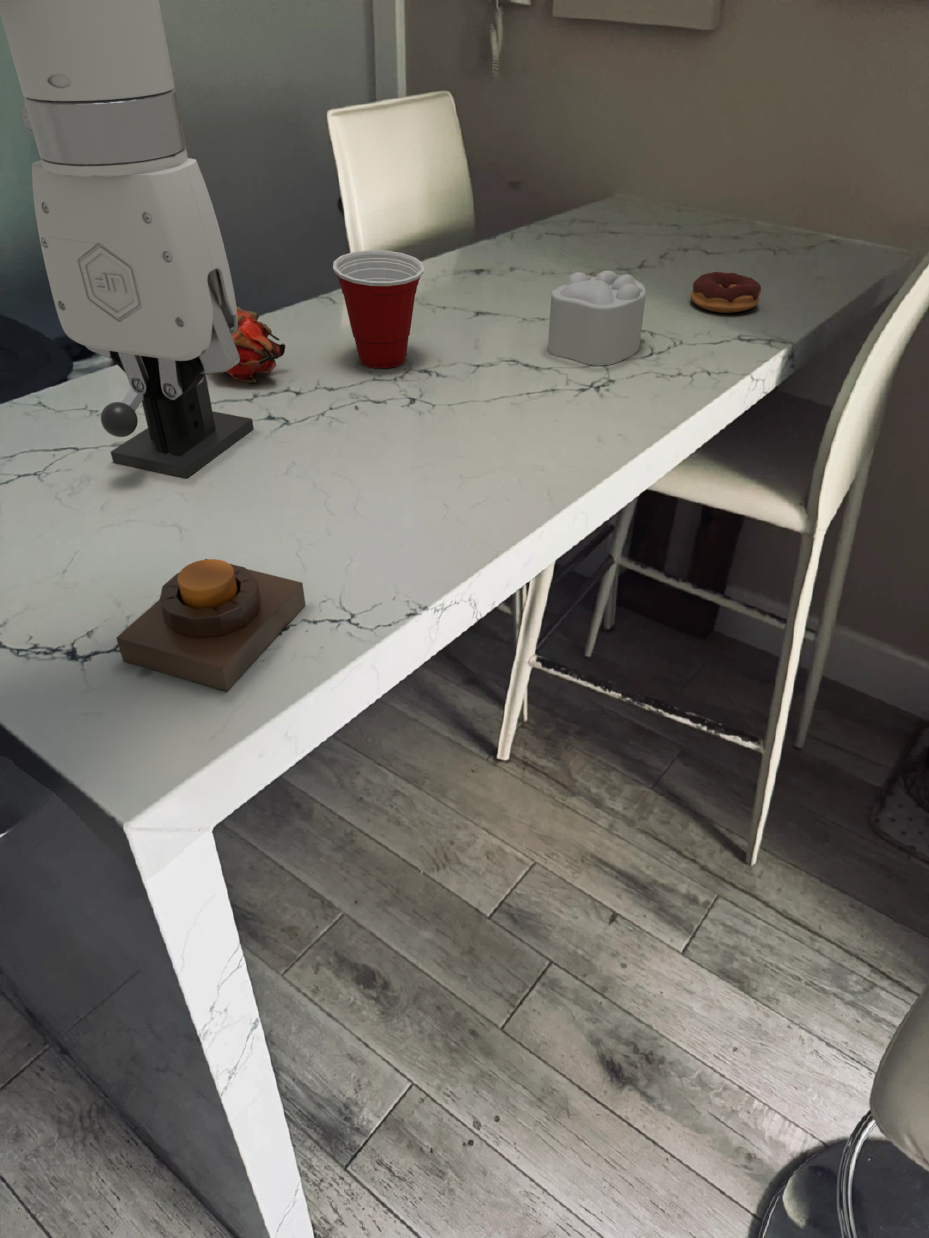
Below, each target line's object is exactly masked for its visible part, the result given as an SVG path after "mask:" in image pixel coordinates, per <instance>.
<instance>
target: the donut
mask: <svg viewBox="0 0 929 1238" xmlns="http://www.w3.org/2000/svg"><path fill="white" fill-rule="evenodd" d="M761 293H762V287H761V284H760V282H759V281H756V279H754V278H753V277H749V276H746V275H744V274H742V275H741V274H739V273H736V272H723V271H722V272H721V271H714V272H708V273H703V274H700V275H699V277H697V278H696V279H695V280H694V282H693V283H692V291H691V292H690V294H689V296H690V300H692V302H693V303H694V304H695V305H697V306H698V307H699V308H701V309H704V310H707V311H709V312H715V313H721V314H732V313H733V314H734V313H739V312H744V311H748V310H750V309H752V308H754V307H756V306H757V305H758V304H759V302H760V296H761V295H762V294H761Z"/></svg>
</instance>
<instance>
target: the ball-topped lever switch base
mask: <svg viewBox="0 0 929 1238" xmlns="http://www.w3.org/2000/svg"><path fill="white" fill-rule="evenodd" d="M180 363H181V361H180ZM196 389H197V393H198V398H199V403H200V408H201V412H202V417H203V422H204V429H205V438H204V440H203V441H201V442H200V443H199V444H197V445H196V446H194V447H193V448H192V449H190V450H189V451H188V452H186V453H185V454H184V455H182V456H181V457H178V456H173V455H171V454H170V452H169V453H168V454H162V453H158V452H157V450H156V447H155V443H154V439H153V435H152V431H151V427H150V423H149V419H148V415H147V411H146V407H145V403H144V399H143V401H142V402H141V404H142V408H143V413H144V416H145V421H146V425H147V427H146V428H145V429H144V430H142V431H140V432H139V433H138V434H136V435H134V436H133V437H131V438H130V439H128V440H127V441H124V443H121V444H120V445H118V446H117V447H115V448H114V449H112V450H111V451H110V455H111V459H112V463H115V464H120V465H125V466H129V467H134V468H137V469H143V470H146V471H147V470H148V471H151V472H152V471H153V472H157V473H160V474H161V473H162V474H165V475H166V474H167V475H171V476H174V477H175V476H176V477H180V478H184V479H188V478H189V477H191V476H192V475H194V474H195V473H197V472H198V471H199V470H200V469H202V468H203V467H204V466H206V465H207V464H208V463H210V462H211V461H212V460H214V459H215V458H216V457H218V456H219V455H221V454H222V453H223V452H225V451H226V450H227V449H229V448H230V447H231V446H233V445H234V444H235V443H237V442H238V441H240V440H241V439H242V438H243V437H245V436H246V435H248V434H249V433H250V432H251V431H253V430H254V429H255V427H254V422H253V418H251V417H246V416H241V415H235V414H230V413H223V412H219V411H213V406H212V402H211V396H210V392H209V385H208V381H207V374H206V375H205V376H204V378H203V381H202V382H201V383H200V384H198V385H197V386H196Z"/></svg>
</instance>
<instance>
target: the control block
mask: <svg viewBox="0 0 929 1238" xmlns="http://www.w3.org/2000/svg"><path fill="white" fill-rule="evenodd" d="M207 559H208V558H205V559H204V560H207ZM229 564H230V565H231V566H232V567H233V570H234V574H235V580H236V585H237V593H236V596H235V597H234V598H233V599H232V600H231V601H229V602H227V603H224V604H222V605H219V606H217V607H211V608H199V609H197V608H193V607H190V606H187V605H186V604H185V603H184V602H183V600H182V597H181V593H180V589H179V585H178V580H177V578H178V574H179V572H177V573H176V574H174V575H173V576H172V577H171V578H170V579H169V580H168V581H167V582H165V583H164V584H163V585H162V586H161V587H162V588H161V591H160V596H159V599H158V600H157V601H156V602H154V603H153V604H152V605H151V606H150V607H149V608H148V609H147V610H145V611H144V612H143V613H142V614H140V616H139V617H137V618H136V620H134V621H133V622H132V623H130V625H128V626H127V627H126V628H125V629H124V630H123V631H122V632H121V633H119V634H118V635H116V638H115V639H116V642H117V645H118V649H119V653H120V655H121V658H122V661H123V662H126V663H130V664H132V665H133V664H134V665H137V666H140V667H144V668H147V669H150V670H153V671H157V672H160V673H164V674H167V675H170V676H174V677H177V678H181V679H184V680H188V681H190V682H195V683H198V684H201V685H204V686H207V687H211V688H215V689H218V690H221V691H225V692H228V691H229V690H230V689H231V688H232V687H233V685H235V684H236V682H237V681H238V680H239V679H240V678H241V677H242V676H243V674H244V673H245V672H246V671H247V670H248V669H249V668H250V667H251V666H252V664H253V663H254V662H255V661H256V660H257V659H258V658H259V657H260V656H261V655H262V653H264V652H265V650H266V649H267V648H268V647H269V645H271V643H273V641H275V639H276V638H277V637H278V636H279V635H280V634H281V633H282V631H283V630H284V629H285V628H286V627H287V626H288V625H289V624H290V623H291V622H292V621H293V619H294V618H296V616H297V615H299V613H300V612H301V610H303V608H304V607H305V606H306V598H305V592H304V591H305V590H304V583H303V581H298V580H294V579H290V578H285V577H282V576H279V575H273V574H271V573H270V574H269V573H265V572H261V571H257V570H253V569H249V568H246V567H245V566H240V565H236V564H232V563H229Z"/></svg>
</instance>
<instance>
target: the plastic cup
mask: <svg viewBox="0 0 929 1238" xmlns="http://www.w3.org/2000/svg"><path fill="white" fill-rule="evenodd" d="M332 264H333V265H332V270H333V272H334V273H335V274H336V276H337V279H338V282H339V285H340V288H341V293H342V295H343V298H344V302H345V308H346V312H347V316H348V320H349V326H350V328H351V333H352V337H353V339H354V342H355V347H356V353H357V355H358V359H359V361H360V363H361V365H363V366H364V367H367V368H371V369H377V370H378V369H380V370H381V369H392V368H397V367H399V366H401V365H403V364H404V363H405V362H406V357H407V355H408V348H409V347H408V345H409V338H410V337H409V336H410V335H411V329H412V321H413V313H414V305H415V300H416V299H415V298H416V294H417V290H418V286H419V282H420V280H421V277H422V276H423V275H424V272H425V266H424V263H423V262H422V261H421V260H419V259H418V258H417V257H415V256H412V255H409V254H406V253H403V252H399V251H398V252H397V251H391V250H384V249H383V250H378V249H375V250H374V249H367V250H357V251H353V252H349V253H346V254H343V255H340V256H339V257H338V258H336V259H335V260H334V261H333V263H332Z"/></svg>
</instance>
